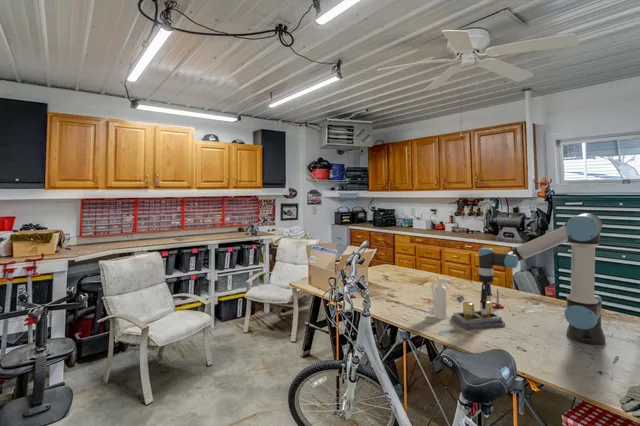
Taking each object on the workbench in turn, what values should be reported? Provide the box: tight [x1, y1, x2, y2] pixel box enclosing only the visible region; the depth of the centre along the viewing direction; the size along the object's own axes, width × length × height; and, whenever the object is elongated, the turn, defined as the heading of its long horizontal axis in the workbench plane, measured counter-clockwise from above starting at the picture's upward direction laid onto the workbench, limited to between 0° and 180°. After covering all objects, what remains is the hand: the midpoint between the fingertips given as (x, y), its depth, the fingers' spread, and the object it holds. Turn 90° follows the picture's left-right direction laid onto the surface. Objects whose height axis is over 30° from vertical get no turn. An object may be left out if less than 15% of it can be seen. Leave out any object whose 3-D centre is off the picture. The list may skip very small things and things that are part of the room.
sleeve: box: [479, 300, 493, 318], centre depth 180 cm, size 6×6×10 cm
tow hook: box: [491, 288, 504, 309], centre depth 205 cm, size 8×13×9 cm
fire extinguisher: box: [428, 276, 451, 320], centre depth 189 cm, size 7×12×25 cm, turn 62°
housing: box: [450, 301, 506, 331], centre depth 180 cm, size 15×24×12 cm, turn 98°
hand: (486, 310), depth 180 cm, fingers open, 13 cm apart
